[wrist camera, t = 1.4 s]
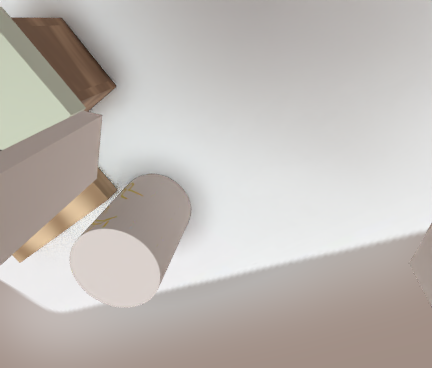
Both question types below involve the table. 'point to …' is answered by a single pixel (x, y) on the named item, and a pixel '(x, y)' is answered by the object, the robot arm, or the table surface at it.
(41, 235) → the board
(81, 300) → the table surface
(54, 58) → the box
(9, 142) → the lid
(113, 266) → the cup
